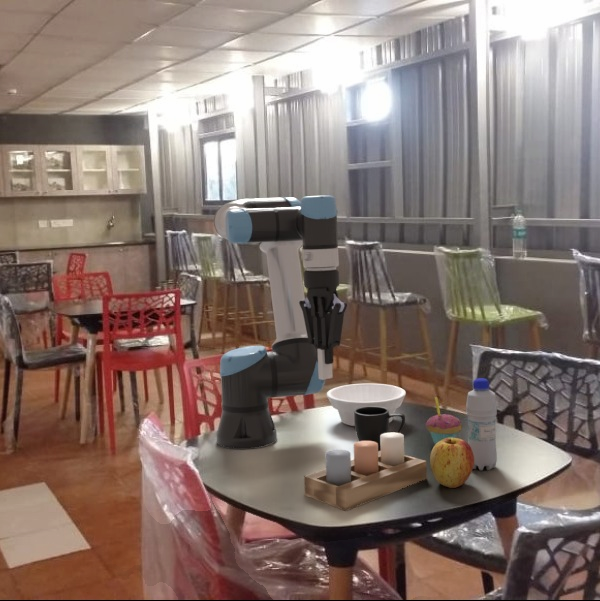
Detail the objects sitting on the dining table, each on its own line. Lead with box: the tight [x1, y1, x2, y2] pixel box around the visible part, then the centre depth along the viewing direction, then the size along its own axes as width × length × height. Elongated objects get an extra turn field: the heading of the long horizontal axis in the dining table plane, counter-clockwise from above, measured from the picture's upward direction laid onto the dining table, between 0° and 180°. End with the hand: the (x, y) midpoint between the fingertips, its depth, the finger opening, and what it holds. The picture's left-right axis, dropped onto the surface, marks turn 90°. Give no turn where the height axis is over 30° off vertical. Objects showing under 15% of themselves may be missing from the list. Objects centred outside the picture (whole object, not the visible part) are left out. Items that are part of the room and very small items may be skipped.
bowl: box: [326, 383, 407, 427], centre depth 219 cm, size 21×21×8 cm
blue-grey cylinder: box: [325, 449, 352, 486], centre depth 166 cm, size 5×5×6 cm
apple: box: [429, 437, 474, 489], centre depth 171 cm, size 9×9×10 cm
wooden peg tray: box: [303, 451, 428, 511], centre depth 171 cm, size 12×24×4 cm, turn 131°
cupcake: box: [425, 394, 463, 445], centre depth 198 cm, size 9×8×12 cm
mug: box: [354, 406, 406, 451], centre depth 195 cm, size 8×12×10 cm
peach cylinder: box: [353, 441, 379, 476], centre depth 171 cm, size 5×5×6 cm
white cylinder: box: [380, 431, 405, 466], centre depth 176 cm, size 5×5×6 cm
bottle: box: [465, 377, 498, 471], centre depth 180 cm, size 7×7×20 cm
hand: (325, 378), depth 177 cm, fingers closed
